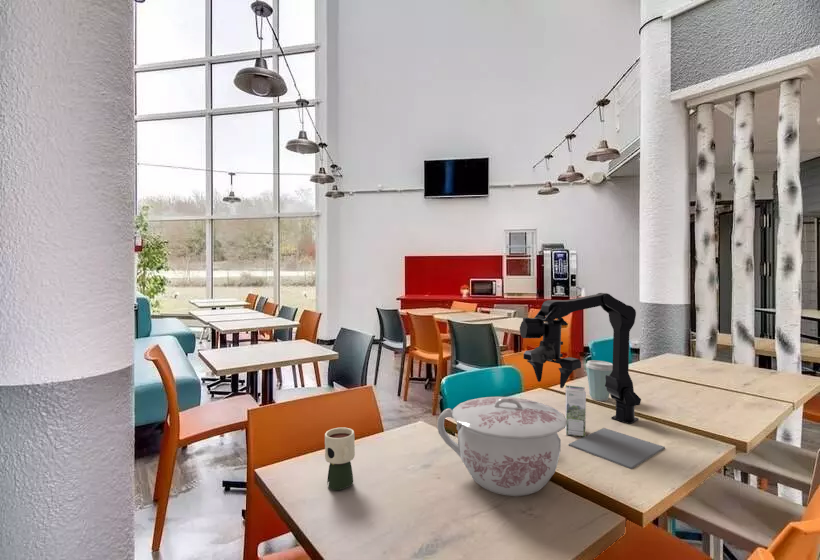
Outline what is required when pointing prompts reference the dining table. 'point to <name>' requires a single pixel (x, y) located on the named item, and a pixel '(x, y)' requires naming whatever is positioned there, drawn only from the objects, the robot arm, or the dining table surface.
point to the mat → (617, 447)
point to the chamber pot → (506, 442)
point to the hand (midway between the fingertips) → (550, 384)
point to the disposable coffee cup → (598, 379)
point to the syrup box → (575, 410)
